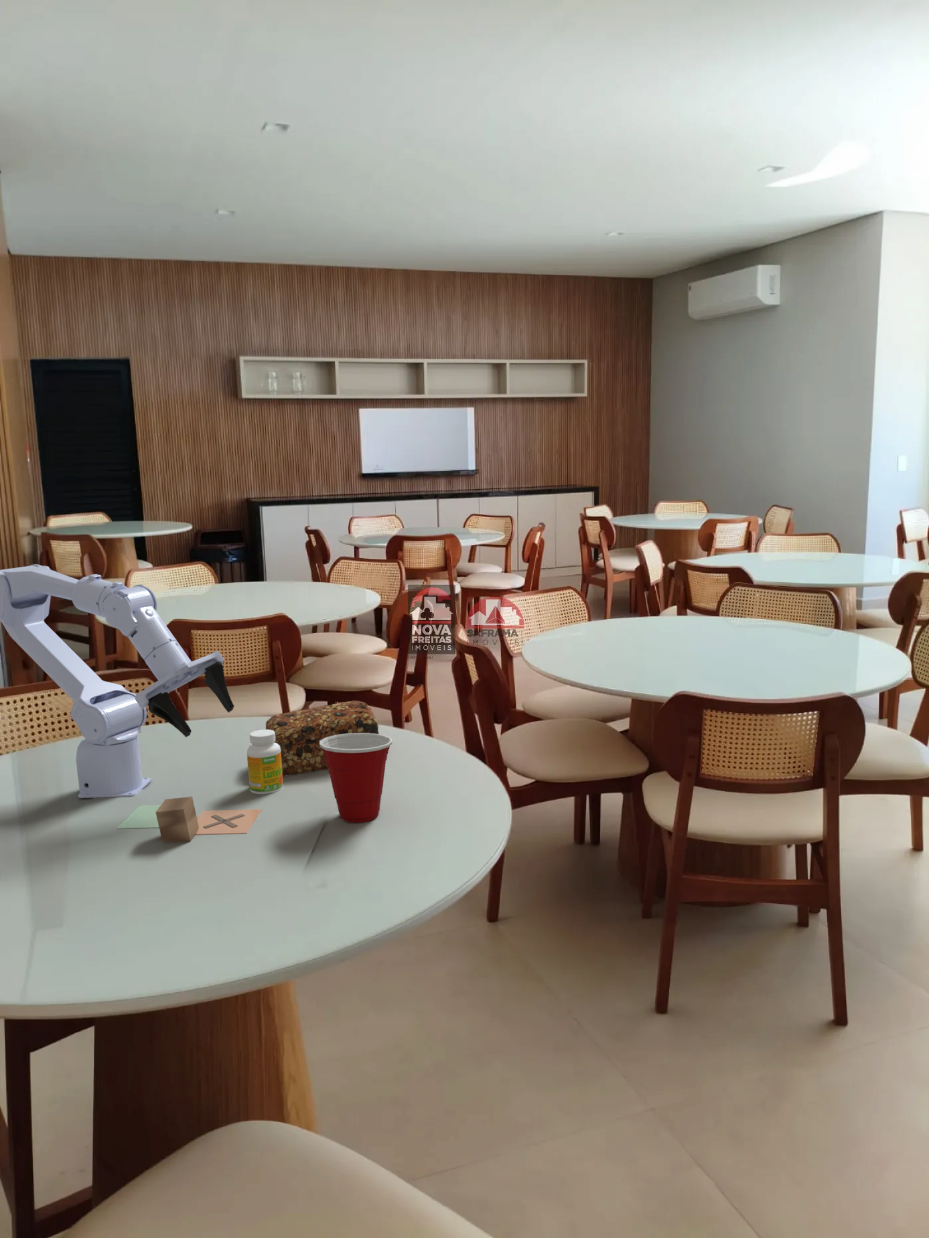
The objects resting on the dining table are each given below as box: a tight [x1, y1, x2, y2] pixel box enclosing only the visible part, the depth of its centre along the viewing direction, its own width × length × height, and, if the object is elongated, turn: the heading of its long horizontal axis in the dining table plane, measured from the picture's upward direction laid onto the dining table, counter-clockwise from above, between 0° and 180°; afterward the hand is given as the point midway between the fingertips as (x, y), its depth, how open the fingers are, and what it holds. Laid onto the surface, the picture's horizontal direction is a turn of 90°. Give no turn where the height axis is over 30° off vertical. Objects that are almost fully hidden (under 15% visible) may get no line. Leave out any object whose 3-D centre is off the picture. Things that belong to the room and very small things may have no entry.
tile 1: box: [116, 803, 197, 830], centre depth 139 cm, size 9×9×1 cm
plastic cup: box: [320, 733, 393, 824], centre depth 136 cm, size 11×11×12 cm
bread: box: [265, 700, 380, 777], centre depth 162 cm, size 19×11×10 cm, turn 110°
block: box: [156, 796, 199, 843], centre depth 130 cm, size 4×4×5 cm
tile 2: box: [194, 808, 263, 836], centre depth 136 cm, size 9×9×1 cm
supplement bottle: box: [246, 729, 284, 795], centre depth 148 cm, size 5×5×10 cm
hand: (210, 721), depth 141 cm, fingers open, 7 cm apart
